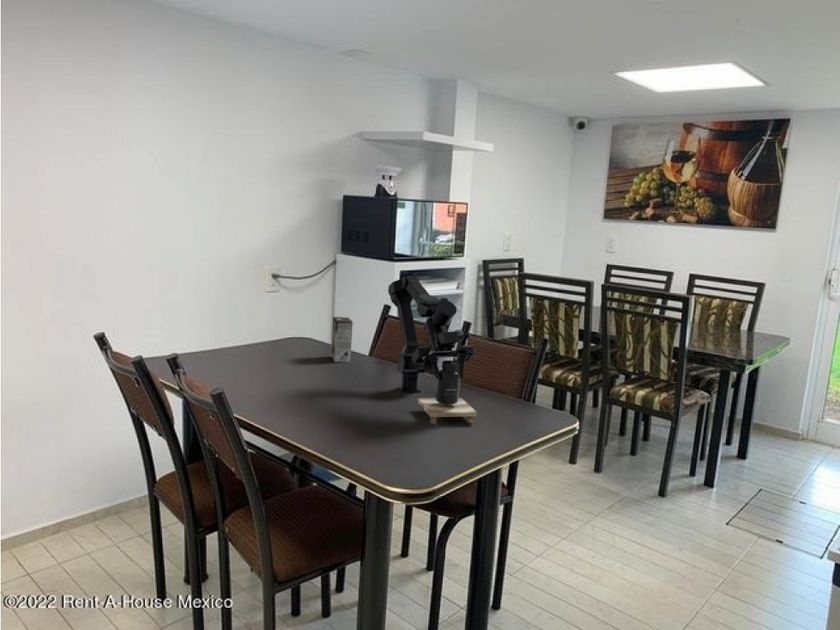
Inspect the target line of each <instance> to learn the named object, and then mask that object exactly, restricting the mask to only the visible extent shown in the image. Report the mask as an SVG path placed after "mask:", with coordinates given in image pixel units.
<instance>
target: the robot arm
mask: <svg viewBox="0 0 840 630" xmlns="http://www.w3.org/2000/svg"><path fill="white" fill-rule="evenodd" d="M387 291H388V292H387V293H388V295H389V297H390V301H391V303H392V304H393V305H394V306H395V307H396V308H397V314H398V320H399V326H400V330H401V331H400V332H401V337H402V342H403V348H402V351H401V352H400V358H399V360H398V361H397V363H396V366H395V367H396V371H397V372H398V373H400V374H401V384H400V385H397V387H398V388H399V390H400V391H401V392H402V393H421V392H422V390H421V388H419V379H420V374H425V373H426V370H428V371H429V372H430V373H431V374H432V376H434V377H435V378H436V380H437V379H438V380H439V381H440V380H441V376H440V372H439V371H440V369H439V366H438V364H437V363H438V362H437V358H439V359H440V358H454V361H456V362H458V370H457V371H458V372H459V373H460V375H461V377H460V381H461V380H463V378H464V369H465V368H464V367H465V363H468V362H469V361H470V360H471V359H472V358H473V356H474V355H475V354H476V349H475V348H474V346H472V345H460V347H459V348H458V350H453V349H454V348H455V347H456V344H458V343H460V342H462V341H463V340H464V338H465V336H464V335H465V334H464V332H463V329H456V330H454V331H447V328H446V326H448V325H450V322H451V321H452V319H453V318H454V317H455V315H456V313H457V311H458V309H457V306H456V305H455V304H454V303H453V302H452V301H450V300H448V297H441V298H440V299H439V298H438V297H437V296H435V295H431V294H430V293H429V292H428V291H427V290H426V288H425V287H424V286H423V285H422V283H421V282H420V281H419V277H417V276H410V275H409V276H406V275H405V276H403V277H401V278H400V279H397V280H395V281H392V282H391V283H390V284H389V285H388V289H387ZM413 300H414V302H415V303H416V305H417V306H416V311H417V313H418V316H419V317H420V318H423V319H425V318H427V319H426V321H425V322H424V326H423V330H425V331H427V334H428V338H429V341H428V345H429V346H425V345H424V344H420V343H419V341H418V337H417V331H416V326H415V321H414V314H413V310H412V301H413ZM430 346H431V347H430Z"/></svg>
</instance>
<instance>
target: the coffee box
mask: <svg viewBox="0 0 840 630" xmlns="http://www.w3.org/2000/svg"><path fill="white" fill-rule="evenodd" d="M353 324H354V322H353V320H351V319H350V317H345V316H344V317H343V316H333V317H332V328H331V329H332V332H331V335H332V336H331V358H332V359H333V361H334V363H335V362H336V363H340V362H341V363H346V362H347V363H350V362H351V358H352V357H351V356H352V354H351V353H352V342H353V341H352V340H353Z"/></svg>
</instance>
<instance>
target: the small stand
mask: <svg viewBox="0 0 840 630" xmlns="http://www.w3.org/2000/svg"><path fill="white" fill-rule="evenodd" d="M417 403H418V405H419V412H422V413H425V412H426V415H428V416H429V417H430V418H429V419H430V420H429V424H431V425H437V421H438V419H437V418H444V417H445V418H451V417H453V418H457V417H459V418H460V417H461V418H462V417H463V418H465V417H466V423H467V424H474V417H477V416H478V411H476V410H475V409H474V408H473V407H472V405H470V404H469V403H467V401H465V400H464V399H463V398H462V397H458V402H457V403H455V404H442V403H439V402H437V401H436V399H435V397H432V398H431V397H430V398H427V397H426V398H425V397H424V398H421V397H420V398H417Z"/></svg>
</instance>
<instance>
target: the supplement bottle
mask: <svg viewBox="0 0 840 630" xmlns="http://www.w3.org/2000/svg"><path fill="white" fill-rule="evenodd" d="M457 370H458V362H456V361H455V360H450V359H449V360H442V363H441V369H439V372H440V376H441V380H440V381H439V380H438V379H437V378H436V386H435V388H436V389H435V395H434V396H435V397H434V398H435V399H436V401H437V402H439V403H442V404H455V403H457V402H458V398H459V393H460V387H461V385H460V384H461V380H460V377H461V375H460V373H459V372H458V371H457Z"/></svg>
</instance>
